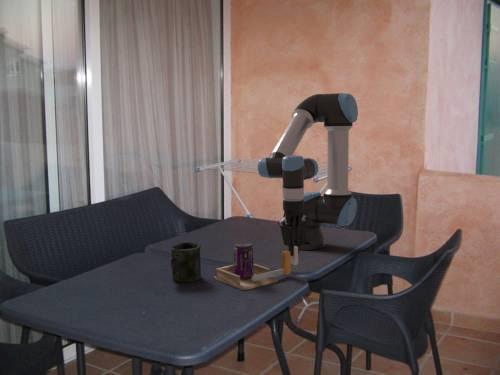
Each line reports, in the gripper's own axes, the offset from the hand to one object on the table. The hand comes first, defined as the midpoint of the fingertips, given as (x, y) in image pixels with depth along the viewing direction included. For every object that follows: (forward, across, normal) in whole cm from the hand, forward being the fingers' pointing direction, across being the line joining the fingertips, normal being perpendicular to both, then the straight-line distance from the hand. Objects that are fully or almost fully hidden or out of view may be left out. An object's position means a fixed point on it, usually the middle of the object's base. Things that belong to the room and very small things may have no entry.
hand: (294, 263), depth 217 cm
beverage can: (+4, +17, -8) cm, 19 cm away
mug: (+4, +33, -22) cm, 40 cm away
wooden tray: (+4, +17, -8) cm, 19 cm away
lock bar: (+3, +11, 0) cm, 11 cm away
